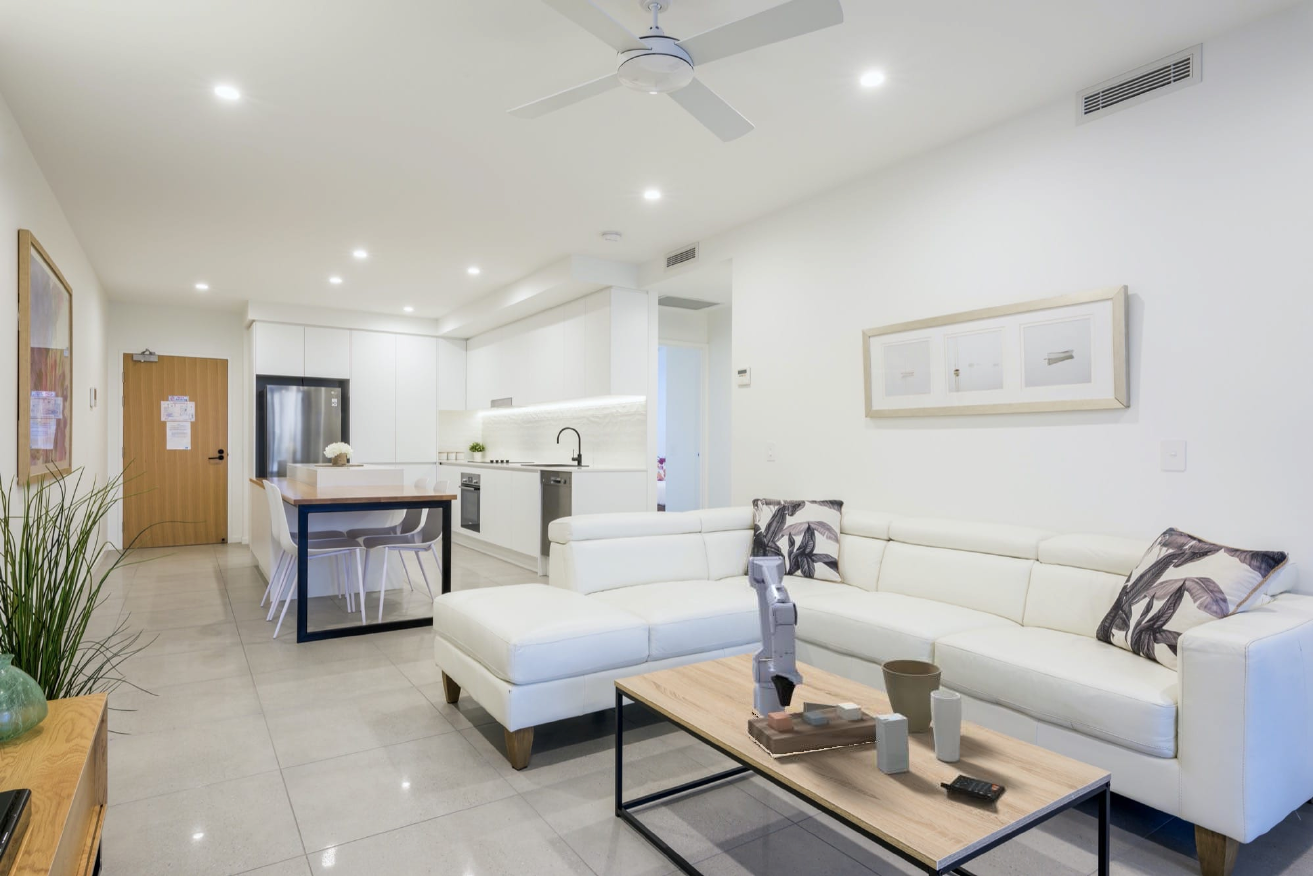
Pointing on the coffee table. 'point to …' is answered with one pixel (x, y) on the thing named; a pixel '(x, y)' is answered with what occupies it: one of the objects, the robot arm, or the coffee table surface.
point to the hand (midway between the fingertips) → (785, 705)
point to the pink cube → (779, 721)
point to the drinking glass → (946, 724)
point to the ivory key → (848, 711)
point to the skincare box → (892, 743)
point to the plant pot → (912, 690)
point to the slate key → (814, 718)
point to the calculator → (975, 788)
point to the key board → (813, 733)
